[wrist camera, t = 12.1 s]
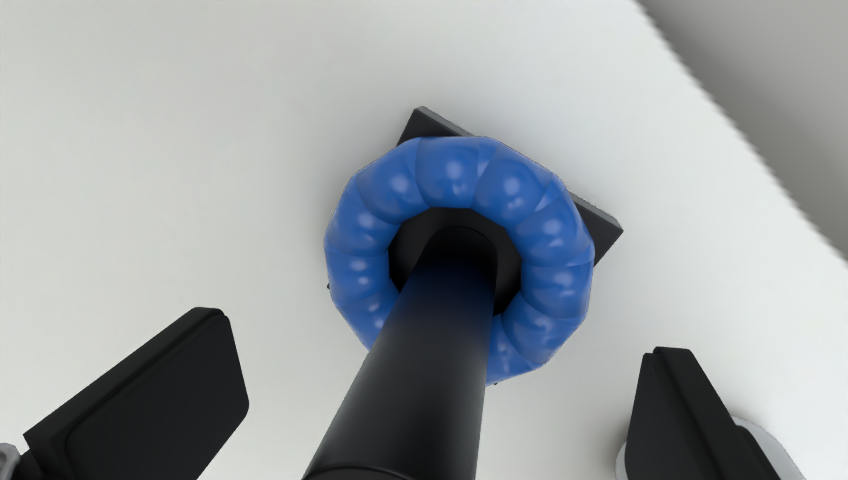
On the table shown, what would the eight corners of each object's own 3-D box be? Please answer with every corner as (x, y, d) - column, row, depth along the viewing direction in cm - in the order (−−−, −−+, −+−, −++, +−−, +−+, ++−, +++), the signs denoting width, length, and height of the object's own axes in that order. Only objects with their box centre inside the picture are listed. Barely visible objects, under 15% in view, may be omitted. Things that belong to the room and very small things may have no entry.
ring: (307, 286, 17) (280, 314, 15) (404, 80, 14) (384, 81, 12) (497, 396, 17) (494, 438, 15) (645, 221, 14) (667, 246, 12)
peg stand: (337, 274, 18) (109, 532, 8) (422, 105, 15) (214, 182, 5) (497, 367, 18) (469, 738, 8) (617, 219, 15) (823, 536, 5)
